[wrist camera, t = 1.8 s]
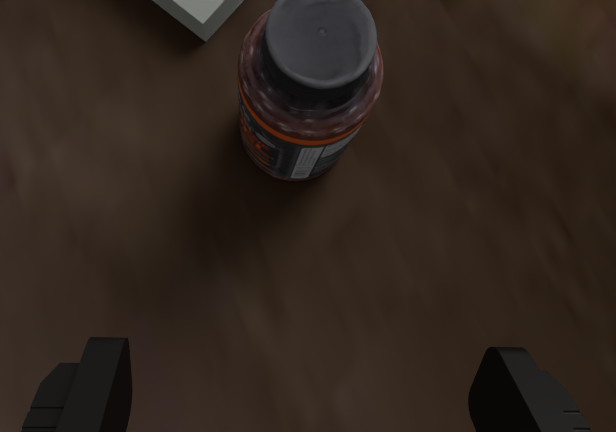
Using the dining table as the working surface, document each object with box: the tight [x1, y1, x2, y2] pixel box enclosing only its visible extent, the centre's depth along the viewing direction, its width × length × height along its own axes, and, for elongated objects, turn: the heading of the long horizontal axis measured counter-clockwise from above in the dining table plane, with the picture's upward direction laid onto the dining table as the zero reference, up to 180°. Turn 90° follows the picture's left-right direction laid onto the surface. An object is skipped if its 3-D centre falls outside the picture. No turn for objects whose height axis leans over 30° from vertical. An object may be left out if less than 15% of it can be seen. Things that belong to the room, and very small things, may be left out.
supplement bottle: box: [238, 0, 383, 181], centre depth 24 cm, size 6×6×11 cm
